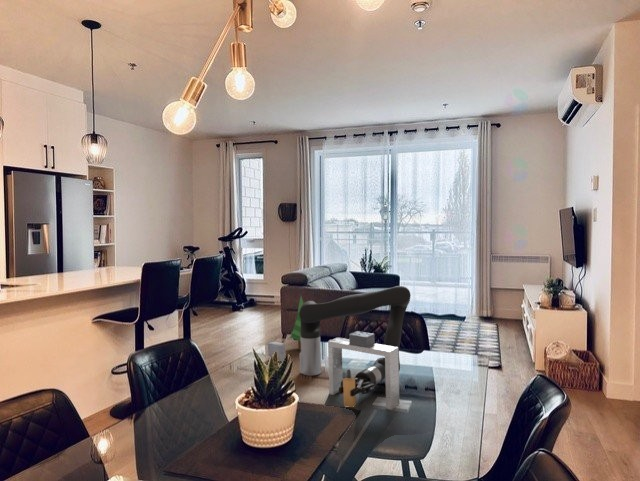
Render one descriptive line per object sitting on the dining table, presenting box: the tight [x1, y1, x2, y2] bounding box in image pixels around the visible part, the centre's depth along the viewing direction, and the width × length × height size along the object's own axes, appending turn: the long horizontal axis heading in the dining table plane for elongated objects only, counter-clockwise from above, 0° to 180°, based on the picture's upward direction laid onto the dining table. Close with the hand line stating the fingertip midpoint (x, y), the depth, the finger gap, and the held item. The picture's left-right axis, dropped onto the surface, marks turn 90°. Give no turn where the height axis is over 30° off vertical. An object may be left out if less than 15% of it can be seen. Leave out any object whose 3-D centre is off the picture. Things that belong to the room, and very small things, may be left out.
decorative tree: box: [289, 296, 304, 351], centre depth 249 cm, size 14×16×30 cm
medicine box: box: [267, 341, 286, 363], centre depth 231 cm, size 8×4×9 cm, turn 58°
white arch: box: [327, 330, 400, 411], centre depth 179 cm, size 28×7×26 cm, turn 54°
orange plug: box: [342, 369, 357, 407], centre depth 171 cm, size 5×5×14 cm
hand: (345, 392), depth 169 cm, fingers closed on orange plug, 4 cm apart
